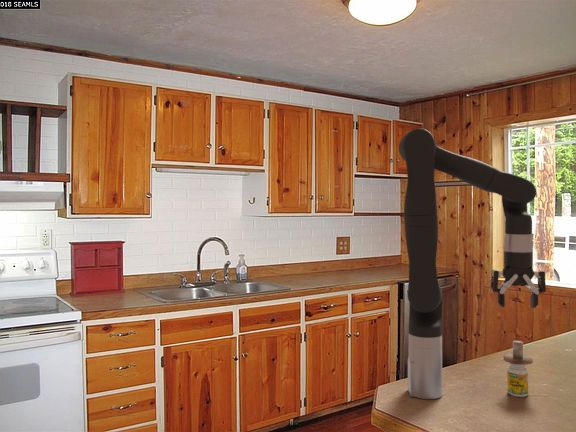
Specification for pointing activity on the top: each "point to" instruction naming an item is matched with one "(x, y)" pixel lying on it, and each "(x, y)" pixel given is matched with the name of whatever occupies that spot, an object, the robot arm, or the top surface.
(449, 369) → the top surface
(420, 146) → the robot arm
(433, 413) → the top surface
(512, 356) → the lid
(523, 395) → the supplement bottle
